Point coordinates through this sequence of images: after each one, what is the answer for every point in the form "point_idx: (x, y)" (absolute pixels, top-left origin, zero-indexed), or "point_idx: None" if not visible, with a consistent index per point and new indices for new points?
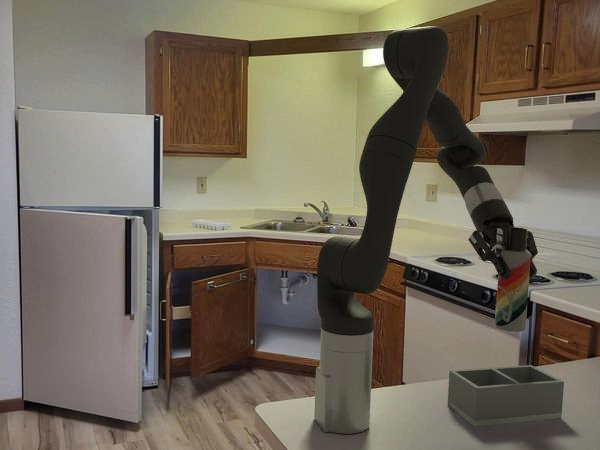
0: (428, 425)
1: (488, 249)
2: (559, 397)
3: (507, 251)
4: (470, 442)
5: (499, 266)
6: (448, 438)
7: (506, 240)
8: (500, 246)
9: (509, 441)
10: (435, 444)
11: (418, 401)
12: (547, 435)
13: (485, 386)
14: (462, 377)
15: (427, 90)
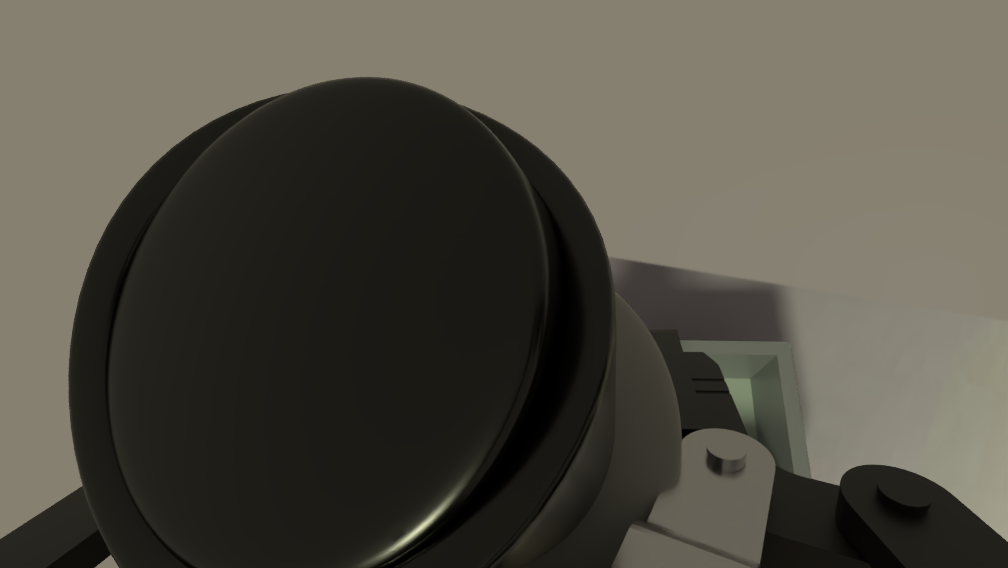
0: (893, 405)
1: (931, 539)
2: None
3: (623, 391)
4: (809, 298)
5: (727, 396)
6: (860, 326)
7: (613, 427)
8: (674, 533)
9: (708, 286)
10: (908, 305)
11: None
12: None
13: (752, 349)
14: (796, 441)
15: None
